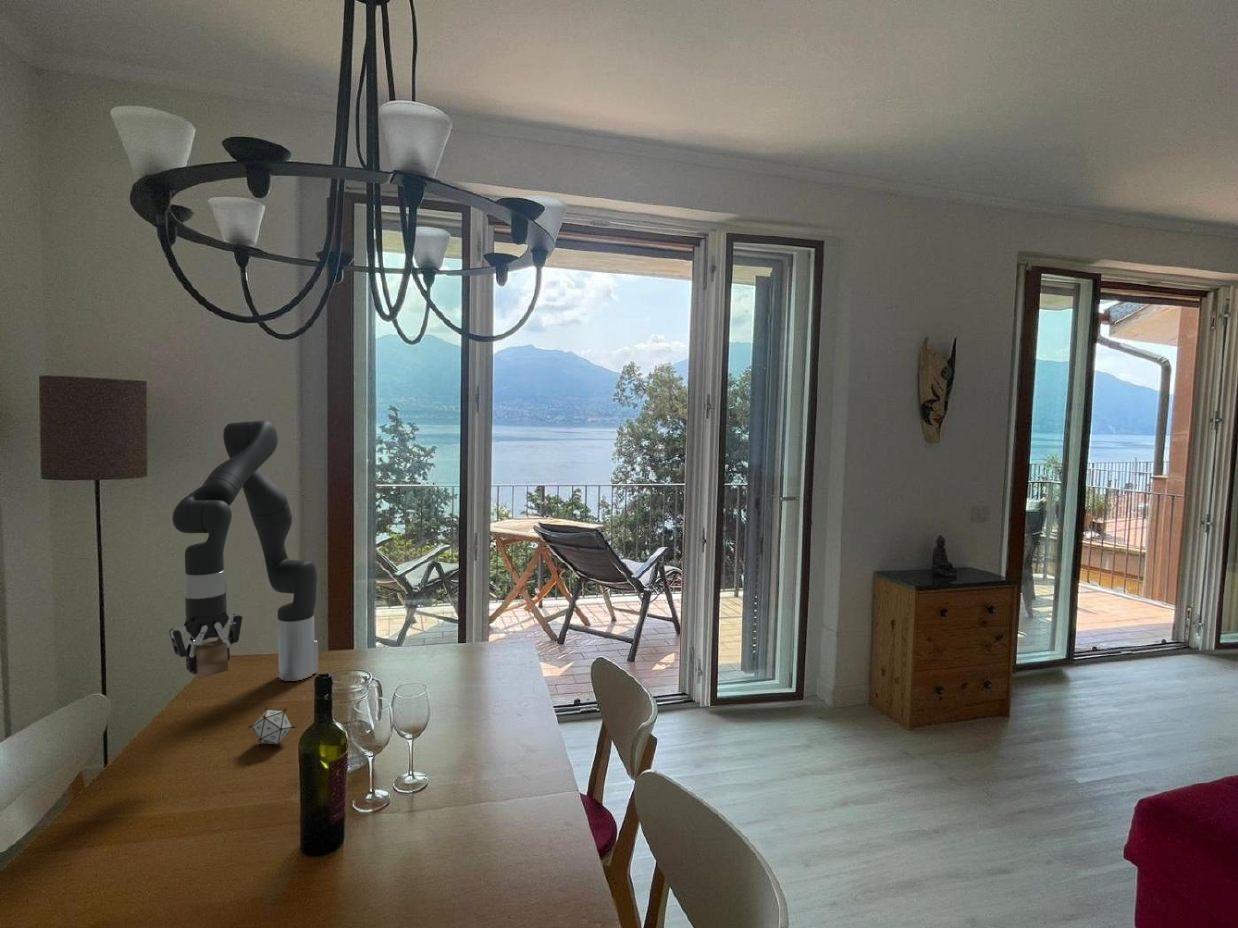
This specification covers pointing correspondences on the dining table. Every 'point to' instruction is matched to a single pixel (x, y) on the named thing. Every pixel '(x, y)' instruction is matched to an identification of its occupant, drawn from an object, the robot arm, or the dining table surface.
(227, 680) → the dining table surface
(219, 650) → the wooden cube
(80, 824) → the dining table surface
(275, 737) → the game die
